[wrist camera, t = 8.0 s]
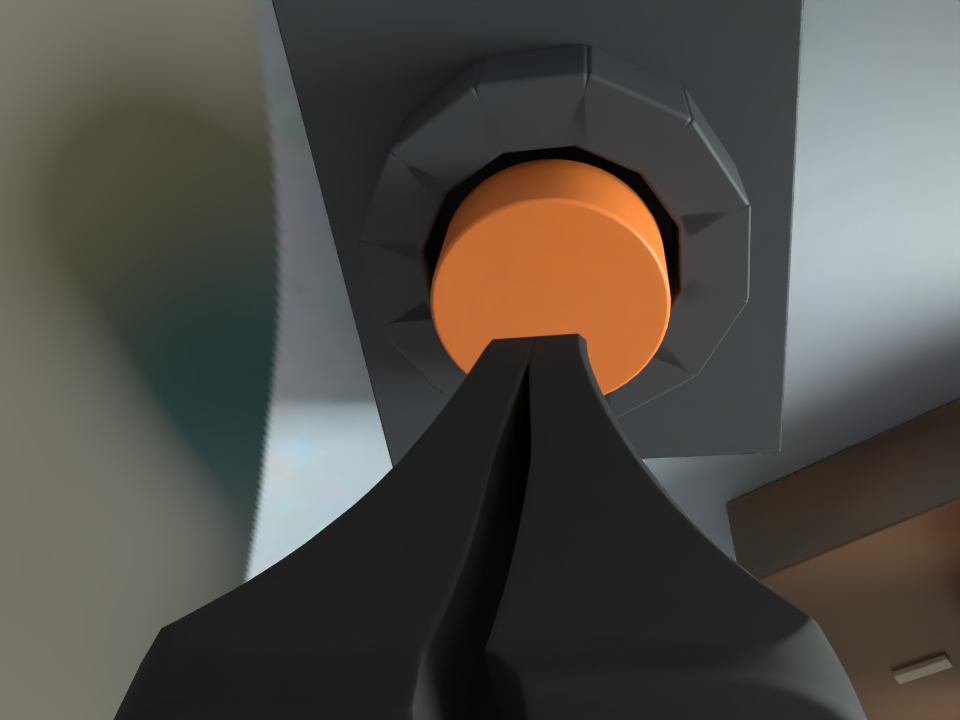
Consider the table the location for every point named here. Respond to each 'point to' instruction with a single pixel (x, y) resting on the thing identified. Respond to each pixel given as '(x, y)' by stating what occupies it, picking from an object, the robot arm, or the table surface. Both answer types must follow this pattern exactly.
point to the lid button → (554, 268)
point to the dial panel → (872, 561)
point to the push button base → (568, 136)
